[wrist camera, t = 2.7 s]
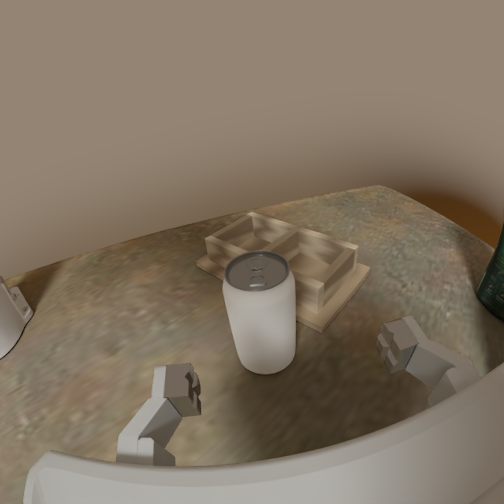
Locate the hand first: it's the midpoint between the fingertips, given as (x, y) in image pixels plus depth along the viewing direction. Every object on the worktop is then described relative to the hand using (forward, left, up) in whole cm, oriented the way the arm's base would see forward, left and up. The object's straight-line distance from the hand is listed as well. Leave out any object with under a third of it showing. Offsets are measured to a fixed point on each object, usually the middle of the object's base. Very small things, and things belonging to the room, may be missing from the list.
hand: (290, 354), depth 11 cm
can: (-10, +8, -17) cm, 21 cm away
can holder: (-18, +21, -16) cm, 32 cm away
